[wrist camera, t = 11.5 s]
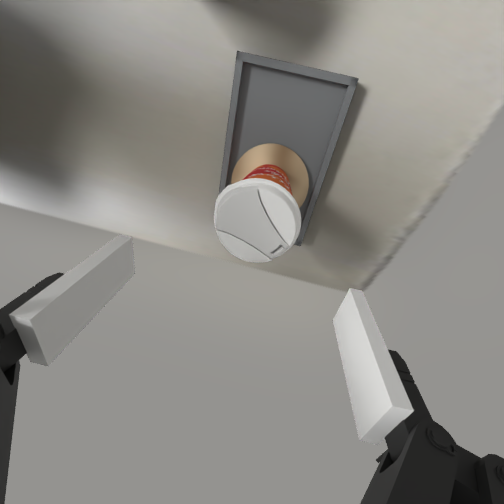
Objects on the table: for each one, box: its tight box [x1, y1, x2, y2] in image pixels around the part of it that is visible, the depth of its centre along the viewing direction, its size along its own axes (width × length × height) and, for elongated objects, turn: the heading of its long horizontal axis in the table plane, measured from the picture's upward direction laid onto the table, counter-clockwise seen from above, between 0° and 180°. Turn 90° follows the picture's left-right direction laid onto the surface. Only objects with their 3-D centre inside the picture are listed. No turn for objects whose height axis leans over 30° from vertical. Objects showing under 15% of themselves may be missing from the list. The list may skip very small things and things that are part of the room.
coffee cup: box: [214, 164, 301, 263], centre depth 28 cm, size 8×8×15 cm
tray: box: [219, 51, 359, 246], centre depth 34 cm, size 14×22×2 cm, turn 169°
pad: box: [231, 143, 309, 208], centre depth 35 cm, size 11×11×1 cm
